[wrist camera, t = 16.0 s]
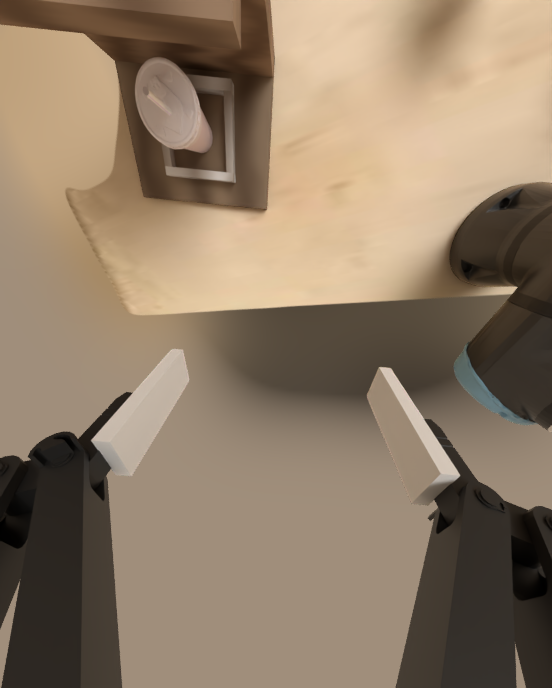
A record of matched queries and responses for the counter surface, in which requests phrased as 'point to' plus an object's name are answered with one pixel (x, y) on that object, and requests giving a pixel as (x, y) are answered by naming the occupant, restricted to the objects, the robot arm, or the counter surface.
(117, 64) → the overhang shelf
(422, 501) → the robot arm
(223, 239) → the counter surface
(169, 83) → the smoothie
